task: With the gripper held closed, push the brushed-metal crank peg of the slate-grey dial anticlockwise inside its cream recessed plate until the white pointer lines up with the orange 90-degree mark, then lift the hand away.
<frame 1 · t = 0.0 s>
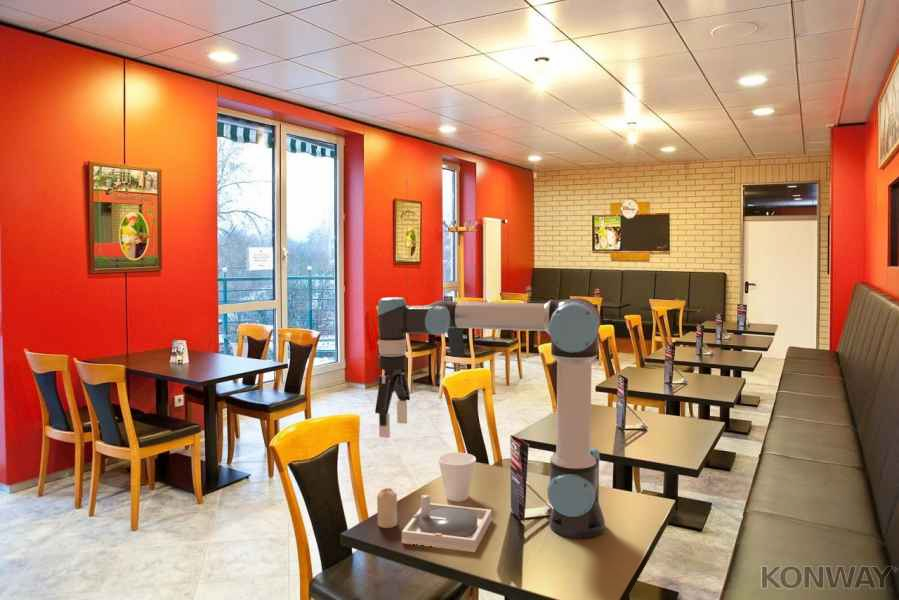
hand: (393, 429, 185), 28 cm above the table, fingers open, 13 cm apart
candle: (387, 524, 189), on the table
dial: (448, 512, 184), point 5 cm above the table, hinge at 0.0°
cup: (457, 497, 208), on the table
dial plate: (448, 531, 184), on the table
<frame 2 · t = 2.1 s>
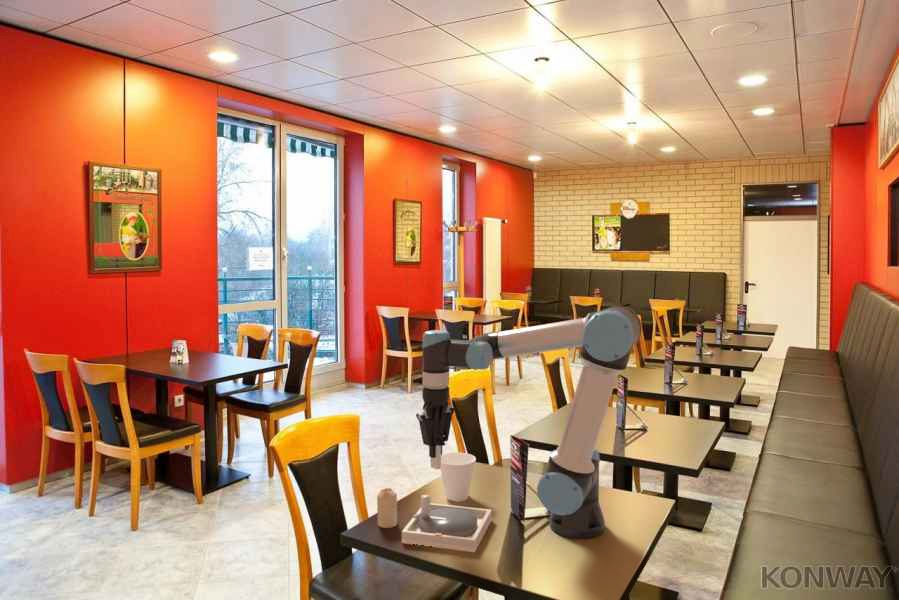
hand: (435, 467, 189), 16 cm above the table, fingers closed
nothing on the table moved.
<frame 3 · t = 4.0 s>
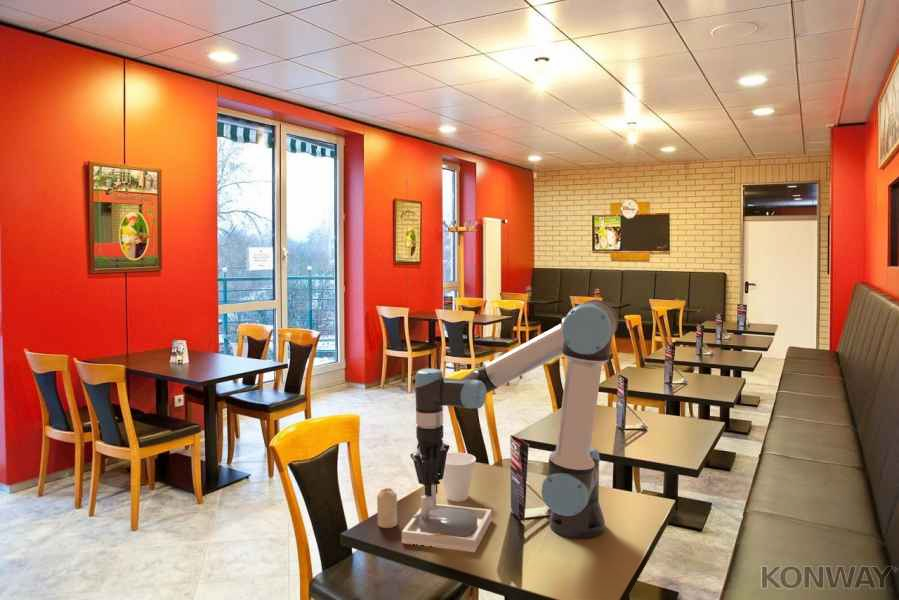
hand: (431, 506, 188), 6 cm above the table, fingers closed
dial: (448, 512, 184), point 5 cm above the table, hinge at 3.0°, touching gripper
everything else where it was.
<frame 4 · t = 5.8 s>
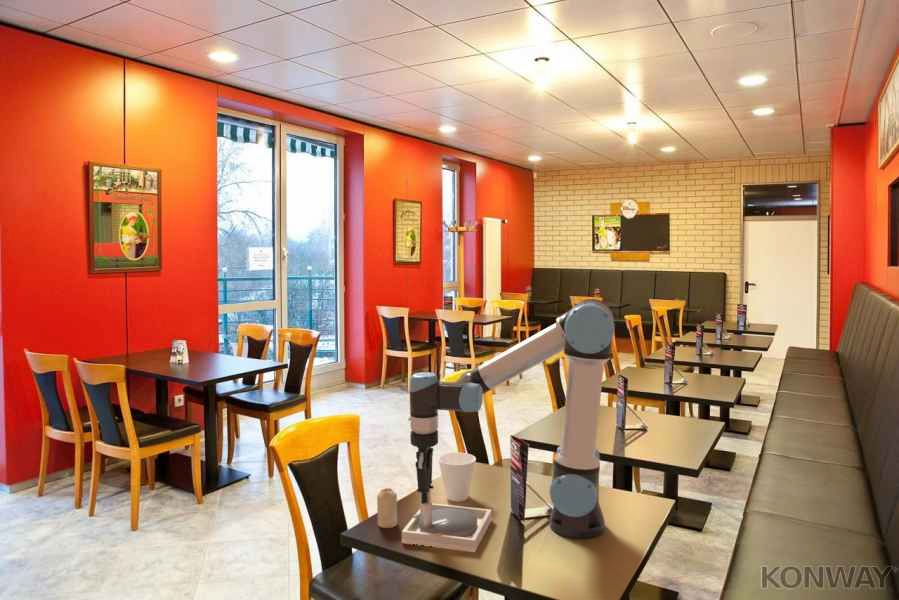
hand: (425, 512, 184), 5 cm above the table, fingers closed
dial: (448, 512, 184), point 5 cm above the table, hinge at 48.0°, touching gripper
everything else where it was.
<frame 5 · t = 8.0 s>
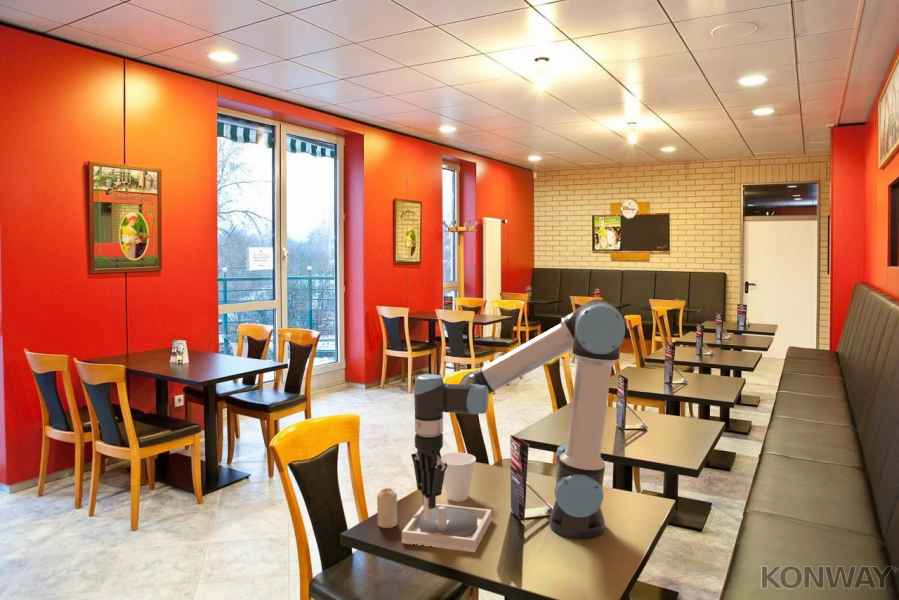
hand: (429, 518, 180), 6 cm above the table, fingers closed
dial: (448, 512, 184), point 5 cm above the table, hinge at 91.8°
everything else where it was.
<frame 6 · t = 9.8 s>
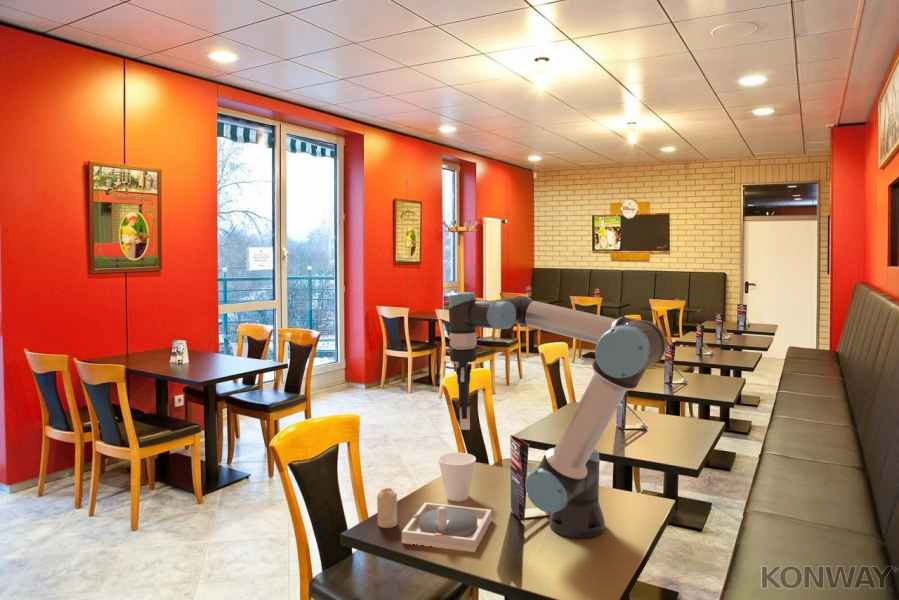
hand: (465, 428, 190), 26 cm above the table, fingers closed
nothing on the table moved.
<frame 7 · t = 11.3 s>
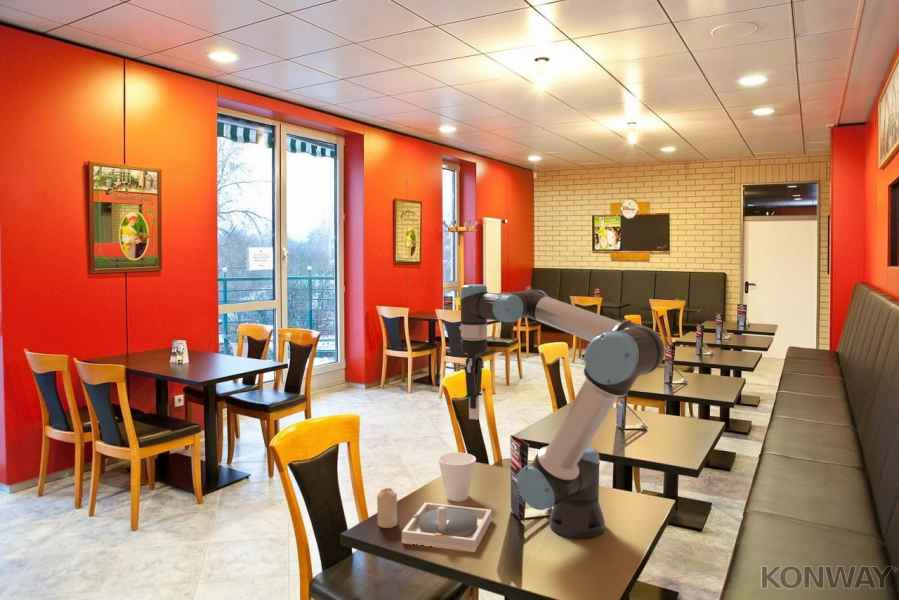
hand: (474, 418, 194), 28 cm above the table, fingers closed
nothing on the table moved.
at the end: dial at +92° (first picture: +0°) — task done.
